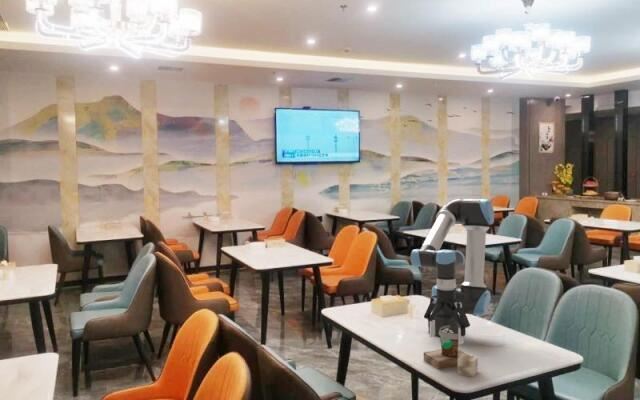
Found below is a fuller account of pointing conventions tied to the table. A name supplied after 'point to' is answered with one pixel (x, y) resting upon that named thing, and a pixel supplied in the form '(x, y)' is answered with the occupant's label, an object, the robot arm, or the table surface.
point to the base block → (441, 359)
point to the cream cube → (467, 365)
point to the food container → (449, 342)
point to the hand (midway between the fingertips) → (446, 339)
